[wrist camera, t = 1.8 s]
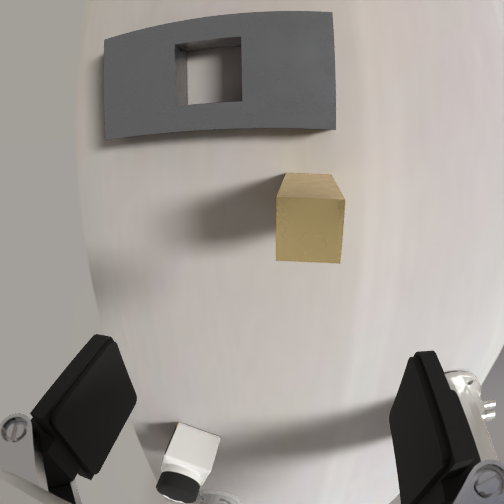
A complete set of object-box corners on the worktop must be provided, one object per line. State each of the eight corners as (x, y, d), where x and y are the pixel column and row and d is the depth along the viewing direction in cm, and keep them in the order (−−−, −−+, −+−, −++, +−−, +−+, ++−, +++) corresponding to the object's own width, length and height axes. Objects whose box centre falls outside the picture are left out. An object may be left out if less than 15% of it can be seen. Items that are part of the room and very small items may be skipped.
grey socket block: (329, 23, 22) (332, 12, 19) (332, 129, 25) (335, 129, 23) (120, 44, 25) (104, 39, 22) (122, 137, 28) (105, 140, 26)
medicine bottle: (178, 420, 44) (152, 481, 33) (221, 436, 43) (202, 499, 32) (172, 440, 47) (149, 495, 36) (211, 454, 46) (194, 511, 35)
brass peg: (331, 174, 27) (345, 199, 18) (329, 218, 28) (340, 263, 19) (286, 172, 28) (276, 196, 18) (285, 216, 29) (275, 260, 20)
